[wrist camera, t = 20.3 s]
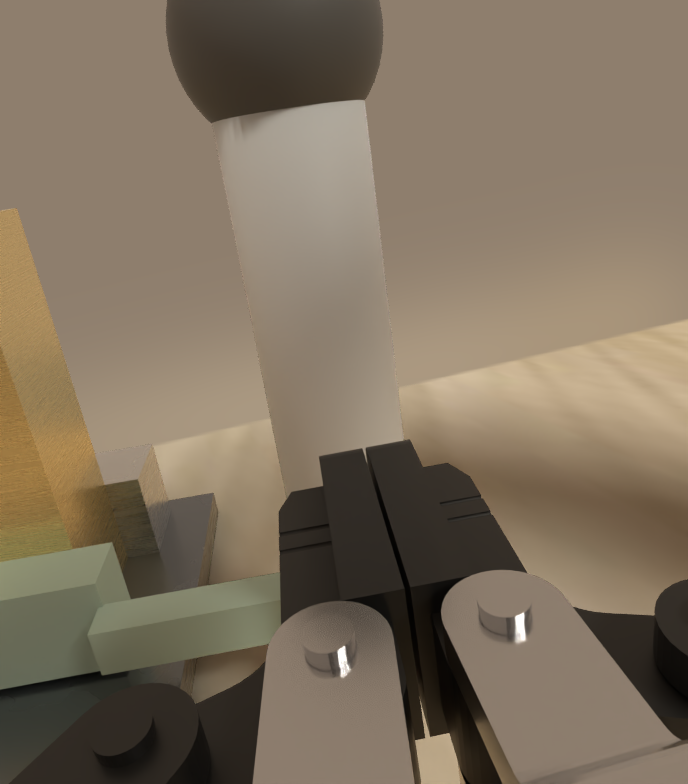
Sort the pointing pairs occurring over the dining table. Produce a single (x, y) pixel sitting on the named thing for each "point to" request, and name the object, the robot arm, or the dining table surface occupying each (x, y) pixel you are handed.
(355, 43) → the sliding jaw
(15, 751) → the base
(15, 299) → the brass block
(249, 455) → the dining table surface
